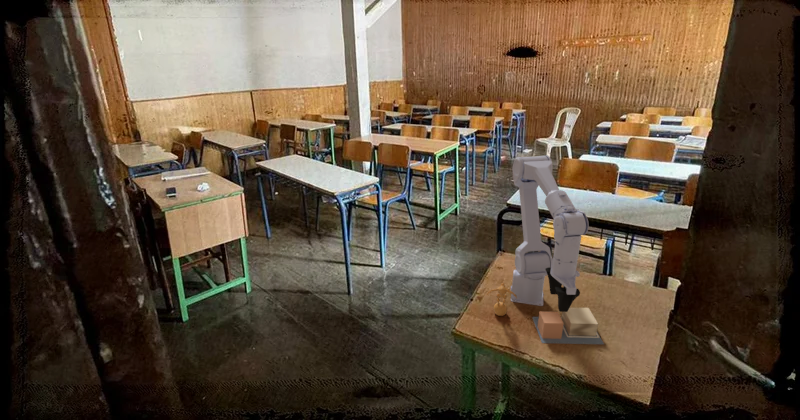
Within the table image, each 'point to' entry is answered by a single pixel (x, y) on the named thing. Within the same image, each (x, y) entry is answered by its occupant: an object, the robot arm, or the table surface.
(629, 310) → the table surface
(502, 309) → the figurine
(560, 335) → the terracotta cube
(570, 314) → the maple base block
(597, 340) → the mat
